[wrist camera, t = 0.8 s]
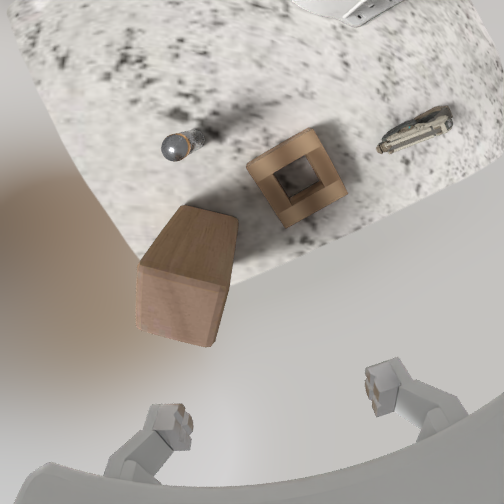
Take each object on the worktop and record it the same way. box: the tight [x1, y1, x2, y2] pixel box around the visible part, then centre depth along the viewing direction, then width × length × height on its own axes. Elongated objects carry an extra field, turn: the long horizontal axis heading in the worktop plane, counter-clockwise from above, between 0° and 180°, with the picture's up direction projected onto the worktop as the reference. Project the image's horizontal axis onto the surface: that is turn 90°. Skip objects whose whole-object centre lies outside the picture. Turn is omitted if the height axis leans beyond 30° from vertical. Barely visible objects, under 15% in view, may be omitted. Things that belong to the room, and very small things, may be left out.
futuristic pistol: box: [376, 106, 453, 154], centre depth 35 cm, size 2×15×10 cm, turn 125°
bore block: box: [246, 128, 348, 229], centre depth 40 cm, size 11×11×4 cm
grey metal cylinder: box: [161, 130, 205, 161], centre depth 35 cm, size 3×3×11 cm
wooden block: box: [136, 205, 239, 347], centre depth 38 cm, size 10×10×20 cm
